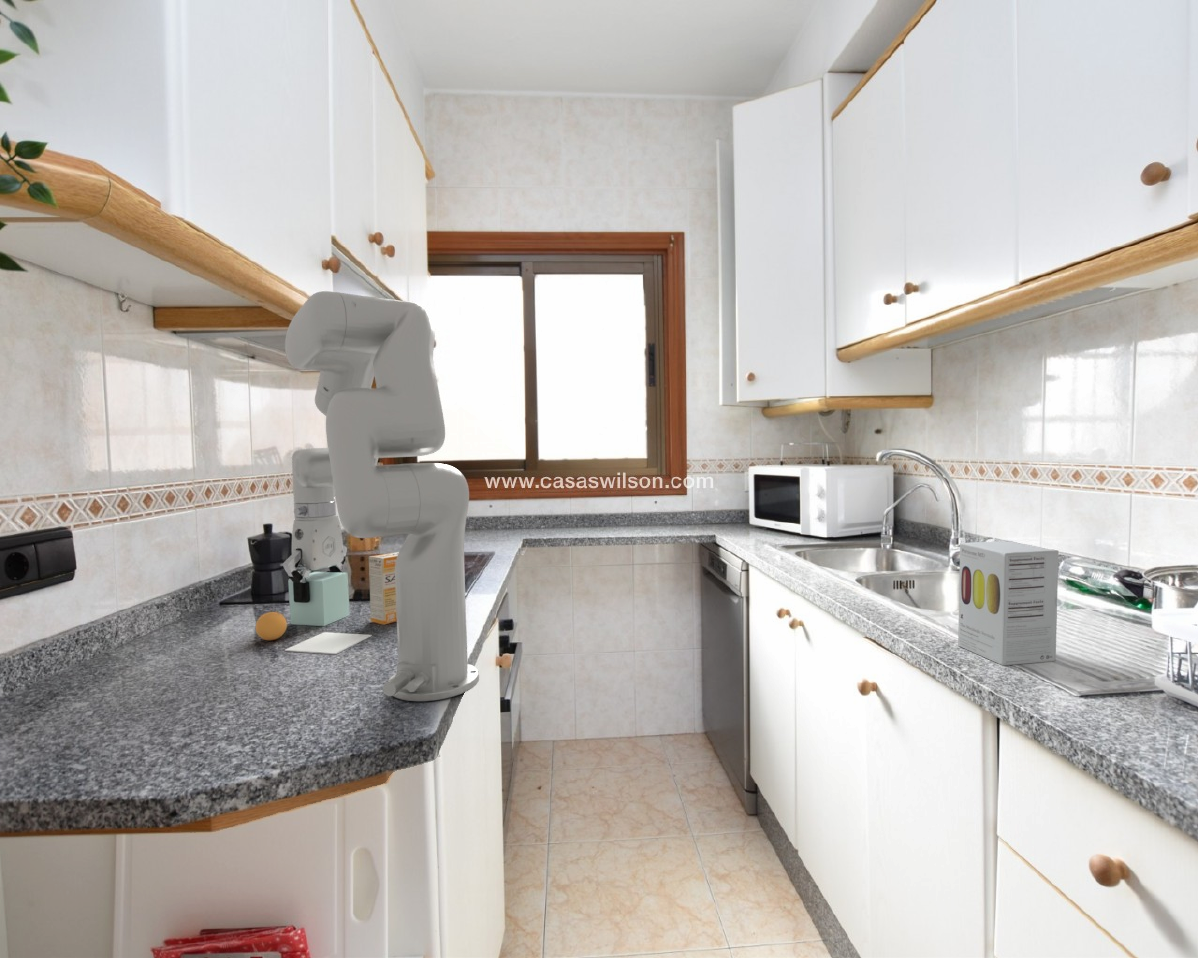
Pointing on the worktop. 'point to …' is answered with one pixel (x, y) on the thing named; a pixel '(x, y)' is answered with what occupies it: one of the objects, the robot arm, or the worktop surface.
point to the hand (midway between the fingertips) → (319, 595)
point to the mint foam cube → (321, 600)
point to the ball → (271, 626)
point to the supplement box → (383, 588)
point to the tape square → (328, 643)
